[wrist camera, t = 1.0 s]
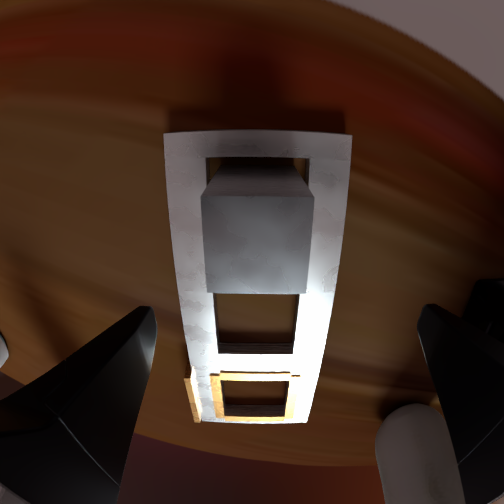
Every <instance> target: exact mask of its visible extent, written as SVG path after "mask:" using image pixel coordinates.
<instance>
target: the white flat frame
mask: <svg viewBox="0 0 504 504" xmlns="http://www.w3.org/2000/svg"><path fill="white" fill-rule="evenodd" d="M351 146H352V135H349V134H344V133H333V132H319V131H302V130H277V129H219V130H194V131H177V132H168V133H164V153H165V169H166V183H167V196H168V208H169V218H170V228H171V238H172V247H173V255H174V263H175V271H176V279H177V286H178V293H179V300H180V307H181V313H182V319H183V325H184V332H185V337H186V343H187V349H188V354H189V360H190V361H189V360H188V364H187V368H186V372H185V376H184V380H185V384H186V389H187V393H188V397H189V401H190V405H191V409H192V413H193V417H194V420H195V422H198V423H200V421H201V417H202V421H211V422H228V423H300V422H307V419H308V415H309V411H310V407H311V403H312V399H313V395H314V391H315V387H316V383H317V378H318V374H319V370H320V365H321V361H322V356H323V351H324V346H325V342H326V337H327V331H328V326H329V321H330V316H331V310H332V305H333V299H334V293H335V287H336V281H337V274H338V268H339V261H340V254H341V247H342V239H343V231H344V223H345V214H346V205H347V195H348V185H349V173H350V160H351ZM209 157H289V158H306V175H305V183H306V185H307V186H308V188H309V189H310V191H311V193H312V194H313V196H314V197H315V200H314V214H313V226H312V238H311V249H310V260H309V270H308V279H307V289H306V294H297V298H296V308H295V318H294V327H293V337H292V343H221V342H220V340H219V328H218V316H217V302H216V293H207V287H206V275H205V262H204V248H203V234H202V217H201V199H200V196H201V195H202V193H203V192H204V190H205V189H206V187H207V185H208V184H209V182H210V169H209ZM223 380H244V381H287V386H286V393H285V401H284V405H227V404H226V403H225V394H224V384H223Z"/></svg>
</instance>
